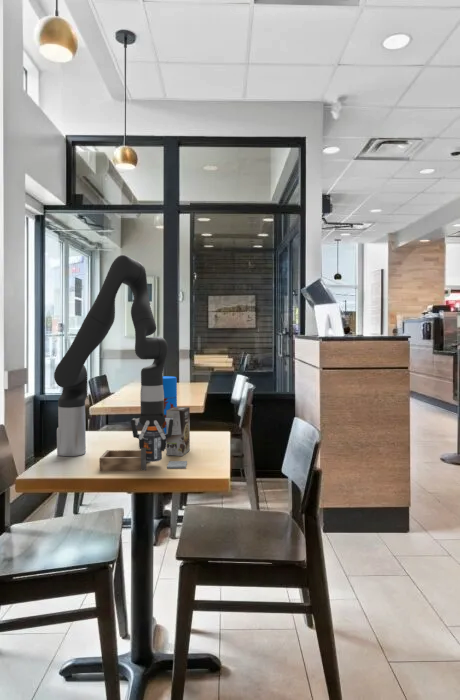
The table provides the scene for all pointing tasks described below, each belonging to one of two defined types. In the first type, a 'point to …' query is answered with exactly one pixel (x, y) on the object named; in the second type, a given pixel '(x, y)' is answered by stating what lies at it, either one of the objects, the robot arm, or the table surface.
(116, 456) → the wooden u-shaped frame
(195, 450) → the table surface
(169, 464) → the mat
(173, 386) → the thermos
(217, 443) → the table surface
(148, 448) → the pill bottle
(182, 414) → the coffee box
